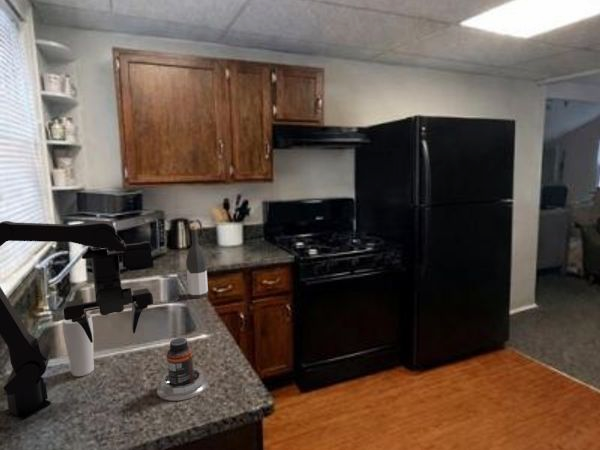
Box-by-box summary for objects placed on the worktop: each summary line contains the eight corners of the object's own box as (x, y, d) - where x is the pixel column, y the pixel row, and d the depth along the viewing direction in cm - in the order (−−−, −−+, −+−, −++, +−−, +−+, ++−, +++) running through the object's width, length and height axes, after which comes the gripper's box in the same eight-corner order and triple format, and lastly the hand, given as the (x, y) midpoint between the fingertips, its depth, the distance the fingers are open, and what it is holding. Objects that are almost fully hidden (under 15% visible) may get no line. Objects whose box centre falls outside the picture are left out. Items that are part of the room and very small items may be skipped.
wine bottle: (209, 296, 163) (205, 226, 159) (189, 299, 160) (184, 227, 156) (206, 291, 170) (202, 223, 166) (187, 294, 167) (182, 225, 163)
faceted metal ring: (186, 405, 87) (185, 395, 87) (146, 394, 92) (145, 385, 92) (217, 379, 98) (217, 369, 98) (180, 370, 103) (179, 361, 102)
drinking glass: (91, 363, 108) (85, 311, 106) (102, 370, 104) (96, 317, 102) (64, 373, 103) (57, 319, 101) (74, 381, 99) (68, 325, 96)
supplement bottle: (188, 375, 99) (184, 333, 97) (199, 384, 95) (196, 340, 93) (165, 384, 95) (161, 341, 94) (175, 394, 91) (172, 349, 89)
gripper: (59, 290, 80) (68, 361, 82) (154, 275, 89) (159, 340, 91) (61, 278, 90) (68, 342, 92) (146, 266, 99) (151, 324, 101)
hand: (113, 337), depth 94 cm, fingers open, 9 cm apart
